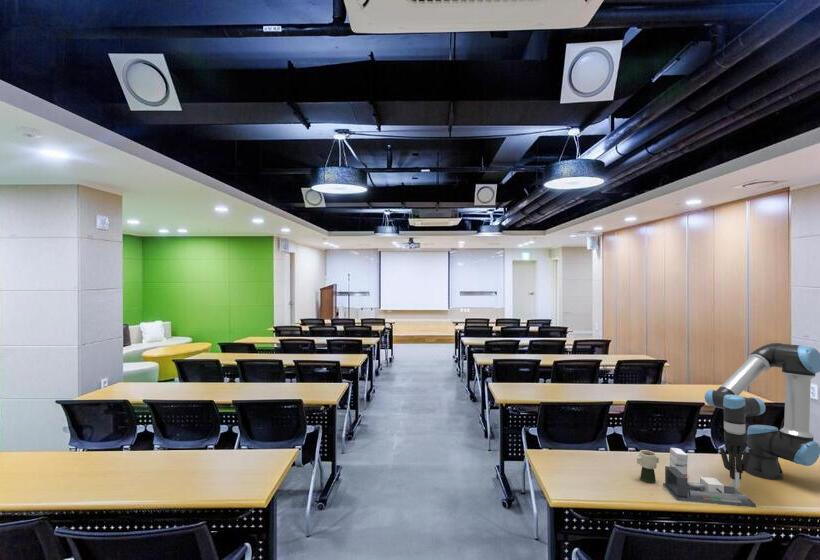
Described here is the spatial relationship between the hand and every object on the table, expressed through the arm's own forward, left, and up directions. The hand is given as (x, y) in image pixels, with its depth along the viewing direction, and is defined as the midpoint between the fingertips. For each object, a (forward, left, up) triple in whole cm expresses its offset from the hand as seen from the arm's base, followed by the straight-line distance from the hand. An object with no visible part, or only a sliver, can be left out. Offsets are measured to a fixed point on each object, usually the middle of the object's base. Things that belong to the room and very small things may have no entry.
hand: (735, 486), depth 182 cm
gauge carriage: (+13, +2, -3) cm, 13 cm away
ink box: (+14, -20, -5) cm, 25 cm away
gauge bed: (+11, 0, -5) cm, 12 cm away
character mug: (+31, -11, -5) cm, 34 cm away
